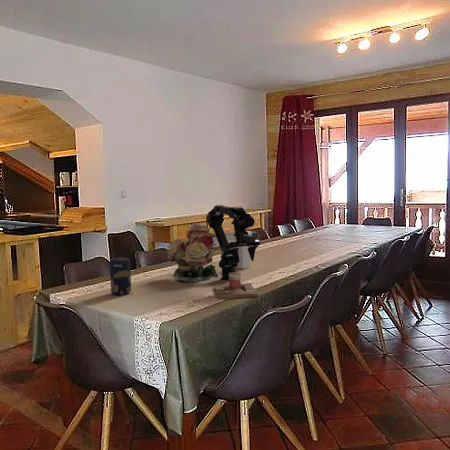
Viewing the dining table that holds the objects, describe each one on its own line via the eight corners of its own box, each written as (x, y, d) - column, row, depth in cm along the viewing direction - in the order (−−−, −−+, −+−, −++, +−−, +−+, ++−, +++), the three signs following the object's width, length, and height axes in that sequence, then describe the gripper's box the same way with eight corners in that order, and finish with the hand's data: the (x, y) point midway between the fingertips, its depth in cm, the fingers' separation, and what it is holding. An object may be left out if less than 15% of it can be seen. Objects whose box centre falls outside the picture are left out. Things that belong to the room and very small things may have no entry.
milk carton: (240, 265, 270) (239, 235, 268) (250, 267, 265) (249, 235, 263) (233, 268, 264) (232, 236, 262) (243, 269, 260) (242, 237, 258)
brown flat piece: (214, 288, 217) (214, 285, 217) (250, 286, 219) (250, 283, 219) (217, 299, 197) (217, 295, 197) (257, 296, 199) (257, 293, 199)
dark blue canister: (133, 290, 217) (131, 254, 215) (129, 295, 207) (127, 257, 206) (113, 291, 217) (111, 255, 215) (109, 296, 207) (106, 258, 205)
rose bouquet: (163, 276, 248) (161, 222, 245) (212, 270, 258) (211, 219, 255) (175, 286, 224) (173, 227, 221) (229, 279, 235) (227, 223, 231)
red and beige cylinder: (226, 292, 209) (226, 273, 208) (236, 290, 212) (236, 271, 211) (233, 294, 204) (232, 275, 203) (243, 292, 207) (242, 273, 206)
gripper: (235, 228, 211) (241, 260, 208) (264, 226, 222) (270, 257, 220) (222, 233, 219) (227, 264, 217) (250, 231, 231) (255, 260, 229)
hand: (245, 261), depth 220 cm, fingers open, 9 cm apart
